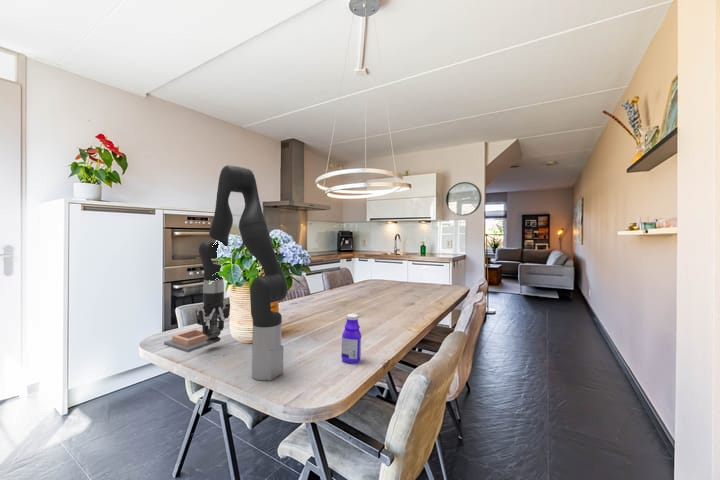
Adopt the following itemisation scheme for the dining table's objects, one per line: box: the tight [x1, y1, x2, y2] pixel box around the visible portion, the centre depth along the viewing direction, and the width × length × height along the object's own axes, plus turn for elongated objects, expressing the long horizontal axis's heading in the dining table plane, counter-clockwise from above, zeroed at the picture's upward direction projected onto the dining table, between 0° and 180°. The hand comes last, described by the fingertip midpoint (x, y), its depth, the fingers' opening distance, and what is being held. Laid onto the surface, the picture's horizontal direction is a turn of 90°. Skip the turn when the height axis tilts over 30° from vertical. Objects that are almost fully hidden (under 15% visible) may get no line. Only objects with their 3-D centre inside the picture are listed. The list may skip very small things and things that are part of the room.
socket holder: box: [163, 328, 221, 353], centre depth 123 cm, size 16×14×4 cm
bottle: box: [340, 313, 362, 364], centre depth 109 cm, size 7×6×17 cm
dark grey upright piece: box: [206, 314, 223, 343], centre depth 116 cm, size 6×6×12 cm
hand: (213, 332), depth 116 cm, fingers closed on dark grey upright piece, 6 cm apart
